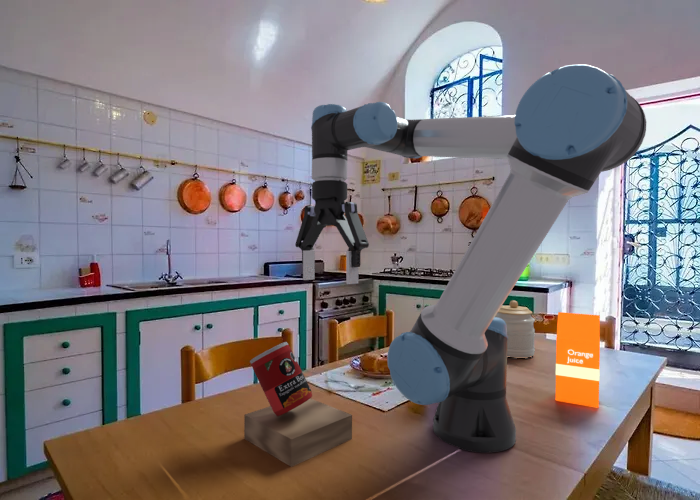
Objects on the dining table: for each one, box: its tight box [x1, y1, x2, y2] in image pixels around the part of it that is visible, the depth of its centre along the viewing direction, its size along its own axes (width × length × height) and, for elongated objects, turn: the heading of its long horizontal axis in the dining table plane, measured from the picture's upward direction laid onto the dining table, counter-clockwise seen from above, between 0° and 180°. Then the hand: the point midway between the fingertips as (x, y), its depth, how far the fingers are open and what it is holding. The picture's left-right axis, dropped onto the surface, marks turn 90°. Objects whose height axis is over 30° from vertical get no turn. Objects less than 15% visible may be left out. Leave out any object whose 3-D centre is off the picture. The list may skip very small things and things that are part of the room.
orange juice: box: [554, 311, 601, 409], centre depth 100 cm, size 8×9×20 cm
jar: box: [497, 300, 536, 357], centre depth 140 cm, size 13×13×18 cm
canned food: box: [249, 341, 313, 416], centre depth 79 cm, size 8×8×11 cm
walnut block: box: [243, 397, 353, 468], centre depth 79 cm, size 14×14×5 cm
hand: (329, 281), depth 91 cm, fingers open, 13 cm apart
